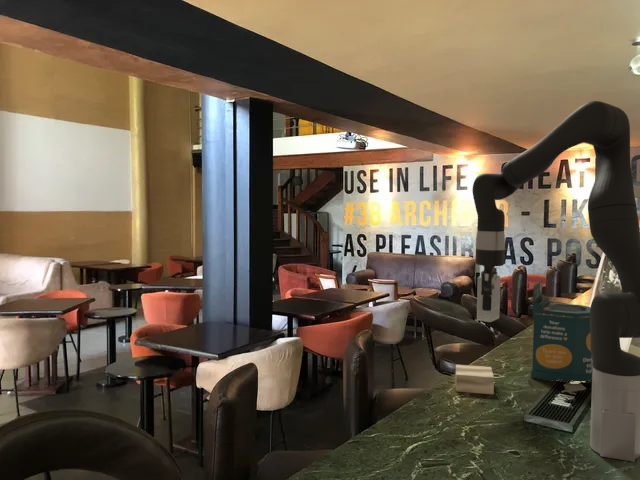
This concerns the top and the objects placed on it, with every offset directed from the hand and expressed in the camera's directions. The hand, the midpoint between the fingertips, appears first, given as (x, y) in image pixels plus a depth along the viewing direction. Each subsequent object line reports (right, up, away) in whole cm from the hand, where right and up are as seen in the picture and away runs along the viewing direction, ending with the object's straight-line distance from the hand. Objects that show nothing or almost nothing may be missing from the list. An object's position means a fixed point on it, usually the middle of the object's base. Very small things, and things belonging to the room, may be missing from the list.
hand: (488, 307), depth 145 cm
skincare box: (0, -3, 0) cm, 3 cm away
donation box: (+28, -23, +17) cm, 41 cm away
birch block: (-2, -24, +6) cm, 25 cm away
